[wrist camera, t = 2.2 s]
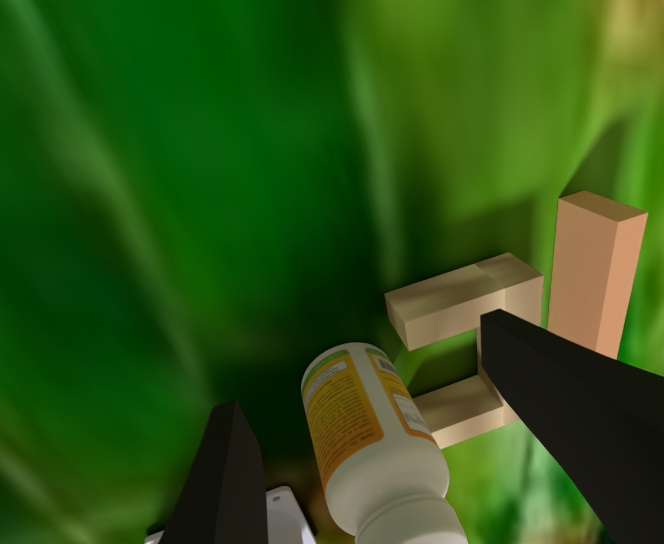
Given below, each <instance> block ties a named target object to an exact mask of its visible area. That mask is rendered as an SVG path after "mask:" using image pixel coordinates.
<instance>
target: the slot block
mask: <svg viewBox="0 0 664 544" xmlns="http://www.w3.org/2000/svg"><path fill="white" fill-rule="evenodd" d="M543 280H544V275H543V274H541V273H540V272H538V271H537V270H535V269H534V268H532V267H531V266H529V265H528V264H526V263H525V262H523V261H521V260H520V259H518V258H517V257H515V256H514V255H512V254H511V253H509V252H508V253H505V254H502V255H499V256H496V257H493V258H490V259H487V260H484V261H481V262H478V263H475V264H472V265H469V266H466V267H463V268H460V269H457V270H454V271H451V272H448V273H445V274H442V275H439V276H436V277H433V278H430V279H427V280H424V281H421V282H417V283H414V284H411V285H408V286H405V287H402V288H399V289H396V290H393V291H390V292H387V293H384V296H385V301H386V306H387V312H388V317H389V321H390V322H391V324H392V326H393V327H394V329H395V330H396V332H397V333H398V335H399V337H400V338H401V340H402V341H403V343H404V344H405V346H406V348H407V349H408V351H411V350H414V349H417V348H420V347H423V346H426V345H429V344H431V343H434V342H437V341H440V340H443V339H446V338H449V337H451V336H454V335H457V334H460V333H463V332H466V331H469V330H471V329H474V328H476V331H477V359H478V375H476V376H473V377H471V378H468V379H465V380H462V381H460V382H457V383H454V384H451V385H448V386H446V387H443V388H440V389H437V390H435V391H432V392H429V393H426V394H424V395H421V396H418V397H415V398H413V399H412V400H413V402H414V403H415V405H416V407H417V409H418V411H419V412H420V414H421V416H422V418H423V420H424V421H425V423H426V425H427V427H428V428H429V430H430V432H431V434H432V436H433V438H434V439H435V441H436V443H437V445H438V446H439V448H440V449H443V448H445V447H448V446H451V445H453V444H456V443H459V442H461V441H464V440H467V439H469V438H472V437H474V436H477V435H480V434H482V433H485V432H488V431H490V430H493V429H496V428H498V427H501V426H503V425H506V424H509V423H511V422H514V421H517V420H519V419H520V418H519V417H518V415H517V414H516V413H515V412H514V411H513V409H512V408H511V407H510V406H509V405H508V404H507V402H506V401H505V400H504V399H503V397H502V396H501V395H500V393H499V392H498V390H497V389H496V387H495V386H494V385H493V383H492V382H491V380H490V378H489V377H488V375H487V374H486V372H485V371H484V369H483V368H482V366H481V329H480V315H482V314H485V313H488V312H490V311H493V310H496V309H499V308H500V309H502V310H504V311H507V312H509V313H511V314H513V315H515V316H518V317H520V318H522V319H524V320H526V321H528V322H530V323H533V324H535V325H537V326H539V327H540V321H541V307H542V294H543Z"/></svg>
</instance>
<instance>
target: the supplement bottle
mask: <svg viewBox="0 0 664 544" xmlns="http://www.w3.org/2000/svg"><path fill="white" fill-rule="evenodd" d="M301 393H302V399H303V404H304V408H305V413H306V417H307V421H308V425H309V429H310V434H311V438H312V442H313V446H314V451H315V455H316V460H317V464H318V468H319V472H320V477H321V481H322V485H323V490H324V494H325V499H326V502H327V506H328V509H329V512H330V514H331V516H332V518H333V519H334V521H335V523H336V524H337V525H338V526H339V527H340V528H341V529H342V530H344V531H345V532H347V533H349V534H351V535H354V536H355V544H468V540H467V537H466V535H465V533H464V531H463V529H462V526H461V524H460V522H459V520H458V518H457V516H456V513H455V511H454V509H453V508H452V507H451V506H450V505H449V503H448V501H447V500H446V499H445V498H444V497H445V495H446V493H447V490H448V485H449V470H448V466H447V463H446V460H445V458H444V456H443V454H442V452H441V450H440V448H439V446H438V445H437V443H436V441H435V439H434V438H433V436H432V434H431V432H430V430H429V428H428V427H427V425H426V423H425V421H424V420H423V418H422V416H421V414H420V412H419V411H418V409H417V407H416V405H415V403H414V402H413V400H412V398H411V396H410V394H409V393H408V391H407V389H406V387H405V386H404V384H403V382H402V380H401V378H400V376H399V375H398V373H397V371H396V369H395V368H394V366H393V364H392V363H391V361H390V359H389V358H388V356H387V355H386V354H385V353H384V352H383V351H382V350H380V349H379V348H377V347H375V346H373V345H371V344H367V343H361V342H353V343H346V344H342V345H338V346H336V347H333V348H331V349H329V350H327V351H325V352H324V353H322V354H321V355H319V356H318V357H317V358H316V359H315V360H314V361H313V362H312V363H311V364H310V365H309V367H308V368H307V370H306V372H305V374H304V376H303V379H302V384H301Z"/></svg>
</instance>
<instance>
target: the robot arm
mask: <svg viewBox="0 0 664 544" xmlns="http://www.w3.org/2000/svg"><path fill="white" fill-rule="evenodd" d="M480 329H481V366H482V368H483V369H484V371H485V372H486V374H487V375H488V377H489V378H490V380H491V382H492V383H493V385H494V386H495V387H496V389H497V390H498V392H499V393H500V395H501V396H502V397H503V399H504V400H505V401H506V402H507V404H508V405H509V406H510V407H511V408H512V409H513V411H514V412H515V413H516V414H517V415H518V417H519V418H520V419H521V420H522V421H523V422H524V424H525V425H526V426H527V427H528V428H529V429H530V431H531V432H532V433H533V434H534V435H535V436H536V438H537V439H538V440H539V441H540V442H541V443H542V445H543V446H544V447H545V448H546V449H547V450H548V452H549V453H550V454H551V455H552V456H553V457H554V459H555V460H556V461H557V462H558V463H559V465H560V466H561V467H562V468H563V470H564V471H565V472H566V473H567V475H568V476H569V477H570V478H571V480H572V481H573V483H574V484H575V485H576V487H577V488H578V490H579V491H580V492H581V494H582V495H583V497H584V498H585V499H586V501H587V502H588V504H589V505H590V506H591V508H592V509H593V511H594V512H595V513H596V515H597V516H598V518H599V519H600V521H601V522H602V524H603V525H604V526H605V528H606V529H607V531H608V532H609V534H610V535H611V537H612V538H613V540H614V541H615V543H616V544H664V377H663V376H660V375H657V374H654V373H651V372H648V371H645V370H642V369H639V368H637V367H634V366H631V365H628V364H626V363H623V362H621V361H618V360H616V359H613V358H610V357H608V356H605V355H603V354H600V353H598V352H595V351H593V350H591V349H588V348H586V347H583V346H581V345H579V344H576V343H574V342H572V341H570V340H567V339H565V338H563V337H561V336H558V335H556V334H554V333H552V332H550V331H548V330H545V329H543V328H541V327H539V326H537V325H535V324H533V323H530V322H528V321H526V320H524V319H522V318H520V317H518V316H515V315H513V314H511V313H509V312H507V311H504V310H502V309H500V308H499V309H496V310H493V311H490V312H488V313H485V314H482V315H480ZM144 544H317V543H316V539H315V537H314V535H313V533H312V531H311V529H310V527H309V525H308V523H307V521H306V519H305V517H304V515H303V513H302V511H301V509H300V507H299V505H298V503H297V501H296V499H295V497H294V495H293V493H292V491H291V489H290V487H288V486H281V487H279V488H276V489H273V490H271V491H268V492H266V482H265V475H264V468H263V462H262V456H261V450H260V445H259V443H258V441H257V439H256V437H255V435H254V433H253V431H252V429H251V428H250V426H249V424H248V422H247V420H246V418H245V416H244V414H243V412H242V410H241V408H240V406H239V404H238V402H237V400H236V399H235V400H233V401H230V402H227V403H224V404H221V405H218V406H215V407H214V408H213V409H212V411H211V414H210V417H209V420H208V423H207V426H206V429H205V431H204V434H203V437H202V440H201V443H200V445H199V448H198V451H197V454H196V456H195V459H194V462H193V464H192V467H191V469H190V472H189V474H188V477H187V479H186V482H185V484H184V487H183V489H182V491H181V494H180V496H179V498H178V501H177V503H176V505H175V507H174V510H173V512H172V514H171V516H170V518H169V521H168V523H167V525H166V527H165V530H163V531H161V532H158V533H155V534H153V535H150V536H148V537H147V538H146V539H145V542H144Z"/></svg>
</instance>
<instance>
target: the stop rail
mask: <svg viewBox="0 0 664 544" xmlns="http://www.w3.org/2000/svg"><path fill="white" fill-rule="evenodd" d="M647 216H648V212H646V211H643V210H640V209H637V208H634V207H631V206H628V205H625V204H623V203H620V202H617V201H614V200H611V199H608V198H605V197H603V196H600V195H597V194H594V193H591V192H588V191H585V190H584V191H581V192H578V193H575V194H571V195H568V196H565V197H562V198H559V201H558V212H557V224H556V235H555V247H554V258H553V270H552V281H551V293H550V304H549V316H548V328H547V330H548V331H550V332H552V333H554V334H556V335H558V336H561V337H563V338H565V339H567V340H570V341H572V342H574V343H576V344H579V345H581V346H583V347H586V348H588V349H591V350H593V351H595V352H598V353H600V354H603V355H605V356H608V357H610V358H613V359H616V358H617V354H618V349H619V344H620V340H621V335H622V331H623V326H624V321H625V317H626V312H627V308H628V303H629V298H630V294H631V289H632V285H633V280H634V275H635V271H636V266H637V262H638V257H639V252H640V248H641V243H642V239H643V234H644V229H645V225H646V220H647Z"/></svg>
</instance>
